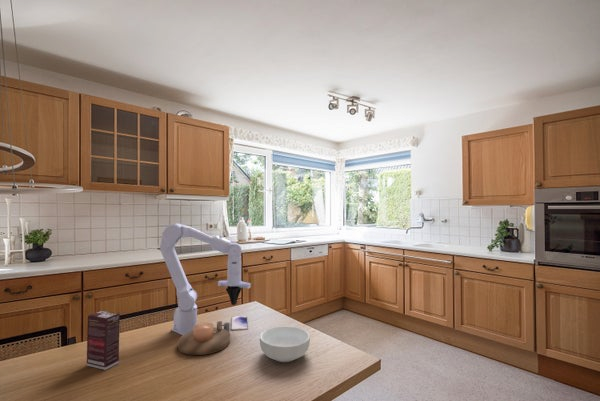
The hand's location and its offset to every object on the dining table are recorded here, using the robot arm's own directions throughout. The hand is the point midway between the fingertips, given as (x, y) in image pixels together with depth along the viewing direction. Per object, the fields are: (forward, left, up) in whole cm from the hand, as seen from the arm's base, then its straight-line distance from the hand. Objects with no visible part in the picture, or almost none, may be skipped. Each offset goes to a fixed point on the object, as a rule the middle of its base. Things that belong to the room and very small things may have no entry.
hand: (234, 304), depth 123 cm
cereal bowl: (+33, -6, -10) cm, 35 cm away
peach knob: (+4, -17, -7) cm, 19 cm away
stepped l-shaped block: (+2, -5, -9) cm, 11 cm away
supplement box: (-10, -45, -10) cm, 47 cm away
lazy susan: (+4, -17, -9) cm, 20 cm away
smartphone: (-1, +4, -10) cm, 11 cm away
